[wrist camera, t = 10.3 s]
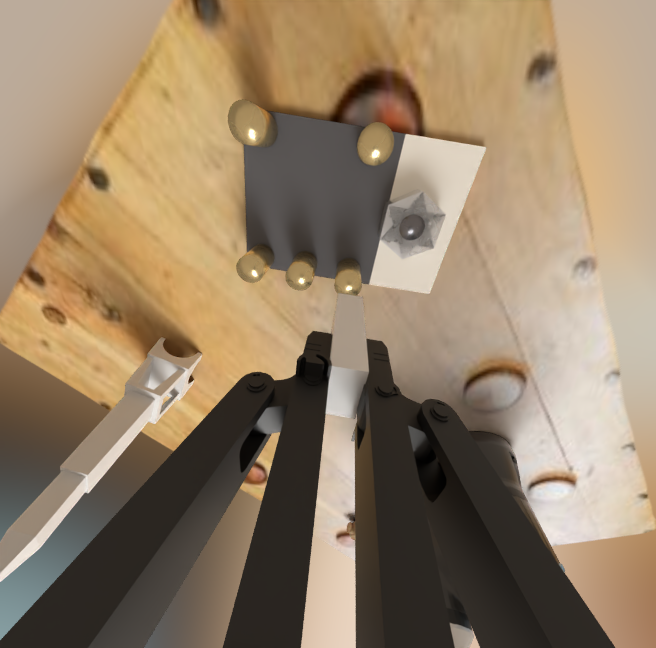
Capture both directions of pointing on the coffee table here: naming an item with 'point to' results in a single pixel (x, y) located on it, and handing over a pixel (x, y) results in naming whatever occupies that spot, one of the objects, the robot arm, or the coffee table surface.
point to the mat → (350, 198)
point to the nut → (411, 224)
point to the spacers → (373, 150)
